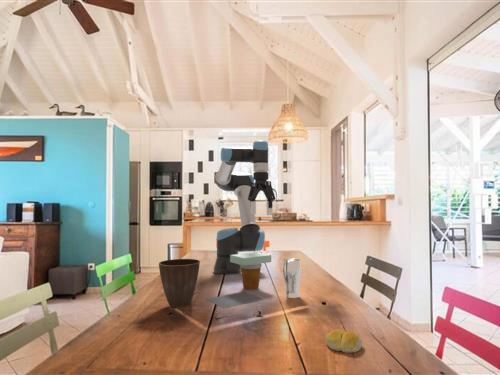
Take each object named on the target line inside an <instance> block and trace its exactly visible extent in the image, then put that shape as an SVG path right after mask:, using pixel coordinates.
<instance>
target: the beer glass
mask: <svg viewBox="0 0 500 375" xmlns="http://www.w3.org/2000/svg"><path fill="white" fill-rule="evenodd" d="M282 269H283V270H282V272H283V279H284V286H285V294H284V296H285V297H286V298H290V299H296V298H301V295H300V283H301V277H302V264H301V259H300V258H290V257H289V258H284V259H283V268H282Z"/></svg>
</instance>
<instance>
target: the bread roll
mask: <svg viewBox="0 0 500 375" xmlns="http://www.w3.org/2000/svg"><path fill="white" fill-rule="evenodd" d="M325 340H326V341H325V343H326V346H327V347H329V348H330V349H331V350H333V351H336V352H337V351H338V352H343V353H346V354H347V353H349V354H350V353H358V352H359V351H360V350H361V349H362V346H363V340H362V338H361V337H360V336H359V335H358V334H357V333H356V332H354V331H350V330H349V331H343V330H341V329H334V330H331V331H329V332H328V333H327V335H326V337H325Z"/></svg>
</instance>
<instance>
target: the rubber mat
mask: <svg viewBox="0 0 500 375" xmlns="http://www.w3.org/2000/svg"><path fill="white" fill-rule="evenodd" d="M205 300H206V301H207V302H210V303H212V304H214V305H216V306H218V307H220V308H222V309H226V308H231V307H236V306H241V305H246V304H247V305H248V304H252V303H256V302H260V301H265V300H266V299H264V298H261V297H259V296H256V295H254V294H252V293H249V292H246V291H241V292H236V293H231V294H225V295H221V296H214V297H210V298H205Z"/></svg>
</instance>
